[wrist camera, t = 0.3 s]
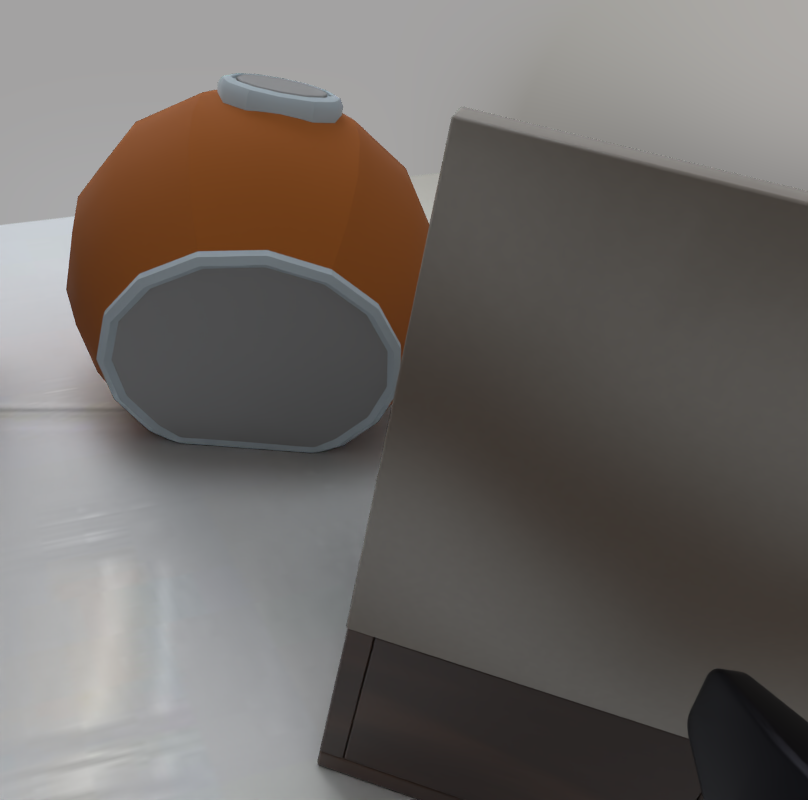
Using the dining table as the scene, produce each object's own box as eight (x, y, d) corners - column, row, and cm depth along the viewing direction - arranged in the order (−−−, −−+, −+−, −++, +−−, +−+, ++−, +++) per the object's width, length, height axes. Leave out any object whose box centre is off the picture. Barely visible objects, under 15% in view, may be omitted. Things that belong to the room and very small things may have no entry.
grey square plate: (460, 105, 11) (452, 114, 11) (1204, 287, 10) (1246, 310, 9) (354, 605, 19) (345, 628, 18) (769, 738, 18) (775, 767, 17)
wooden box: (400, 526, 33) (429, 410, 30) (634, 597, 32) (692, 486, 29) (316, 765, 22) (347, 627, 19) (664, 885, 21) (764, 762, 18)
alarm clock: (391, 346, 50) (444, 94, 41) (432, 504, 35) (529, 164, 26) (113, 315, 45) (106, 26, 37) (29, 479, 31) (-17, 65, 22)
